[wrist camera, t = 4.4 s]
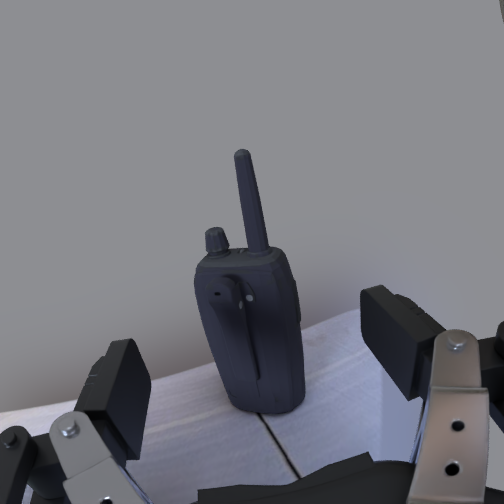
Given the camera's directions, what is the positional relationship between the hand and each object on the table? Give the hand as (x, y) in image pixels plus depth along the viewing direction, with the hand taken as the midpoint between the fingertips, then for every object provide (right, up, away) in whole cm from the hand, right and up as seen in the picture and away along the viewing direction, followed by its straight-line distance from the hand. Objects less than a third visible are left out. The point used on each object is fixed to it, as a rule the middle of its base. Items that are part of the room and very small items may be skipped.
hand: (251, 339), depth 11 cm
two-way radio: (+1, -7, +8) cm, 11 cm away
